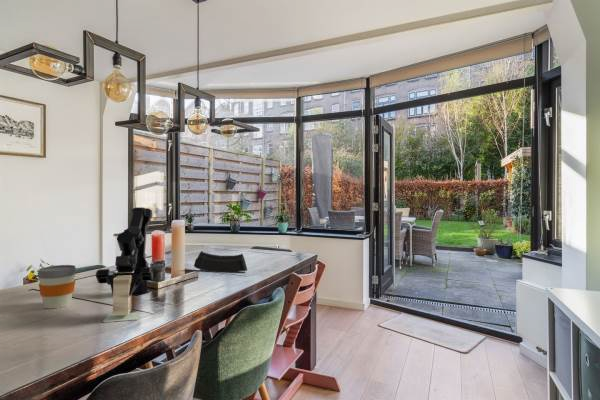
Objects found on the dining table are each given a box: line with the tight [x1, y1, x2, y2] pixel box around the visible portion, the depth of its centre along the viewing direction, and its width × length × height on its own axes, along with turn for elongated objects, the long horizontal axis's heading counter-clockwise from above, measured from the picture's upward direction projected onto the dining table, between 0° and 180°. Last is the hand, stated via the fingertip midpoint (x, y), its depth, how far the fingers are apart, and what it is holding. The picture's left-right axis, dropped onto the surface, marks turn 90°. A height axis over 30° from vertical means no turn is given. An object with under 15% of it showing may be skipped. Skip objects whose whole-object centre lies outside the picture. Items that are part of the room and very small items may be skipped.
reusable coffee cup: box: [37, 264, 77, 309], centre depth 140 cm, size 13×13×15 cm
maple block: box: [112, 275, 133, 315], centre depth 127 cm, size 5×5×13 cm
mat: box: [102, 311, 142, 323], centre depth 127 cm, size 8×11×1 cm
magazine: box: [193, 250, 248, 273], centre depth 203 cm, size 18×3×31 cm
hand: (121, 295), depth 125 cm, fingers closed on maple block, 5 cm apart
